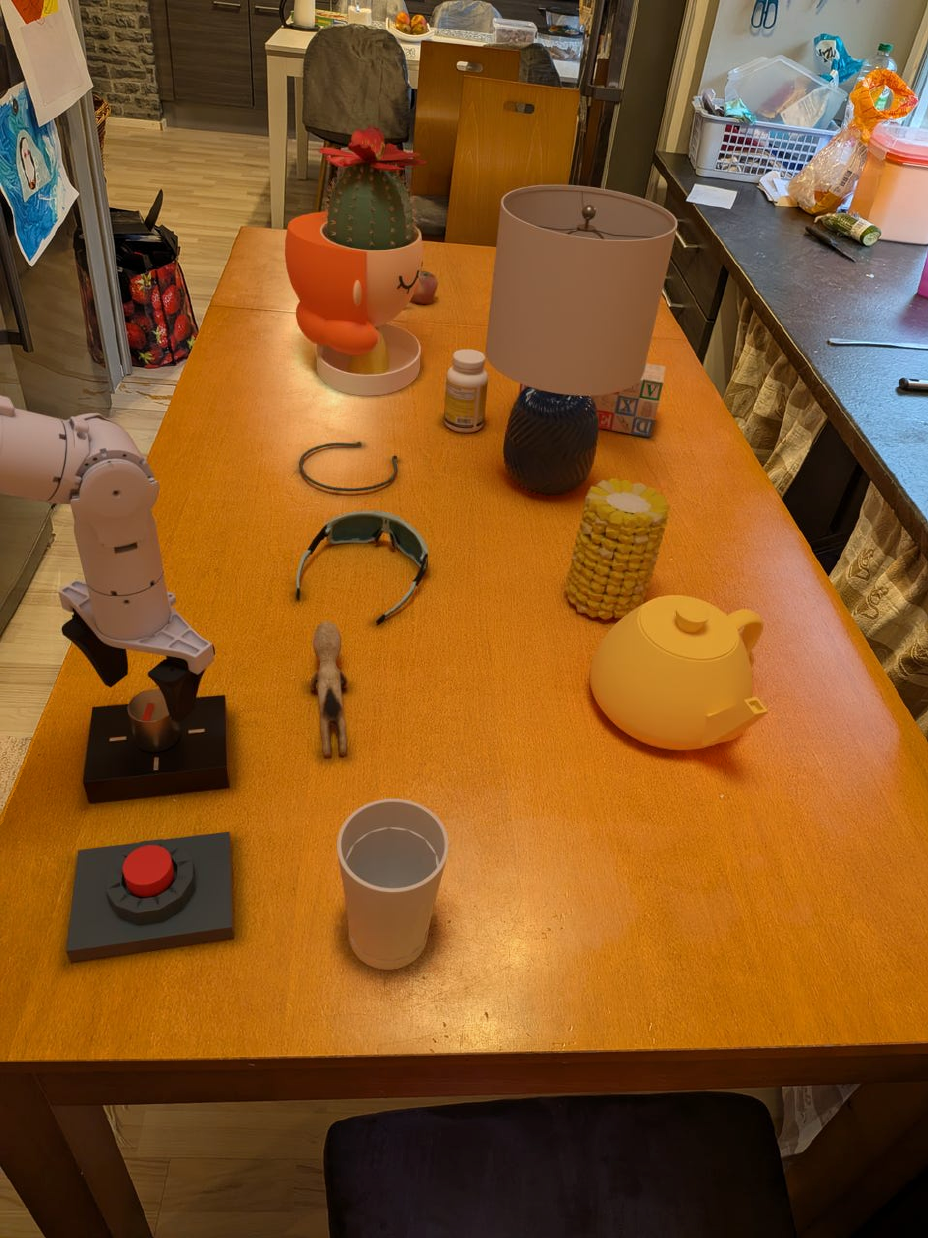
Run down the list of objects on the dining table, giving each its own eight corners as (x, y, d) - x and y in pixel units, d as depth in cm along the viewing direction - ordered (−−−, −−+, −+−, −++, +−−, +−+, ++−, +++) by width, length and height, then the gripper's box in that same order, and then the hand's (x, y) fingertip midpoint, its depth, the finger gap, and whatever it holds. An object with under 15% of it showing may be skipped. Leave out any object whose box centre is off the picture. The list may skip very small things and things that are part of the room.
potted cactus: (427, 345, 157) (440, 123, 135) (408, 403, 140) (419, 160, 118) (307, 330, 158) (299, 106, 135) (273, 386, 141) (258, 141, 118)
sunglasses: (442, 556, 110) (442, 526, 107) (394, 641, 101) (393, 611, 97) (338, 527, 113) (335, 496, 110) (281, 606, 104) (276, 576, 100)
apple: (400, 306, 170) (401, 275, 166) (410, 292, 176) (412, 261, 172) (430, 312, 169) (432, 280, 165) (440, 297, 175) (442, 266, 171)
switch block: (70, 963, 68) (60, 938, 65) (82, 862, 74) (73, 836, 72) (233, 938, 70) (229, 914, 68) (231, 843, 77) (227, 818, 75)
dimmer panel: (89, 804, 79) (82, 781, 77) (97, 728, 85) (91, 705, 83) (229, 788, 81) (226, 765, 79) (227, 716, 88) (224, 693, 86)
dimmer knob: (140, 718, 83) (133, 685, 80) (185, 720, 83) (179, 687, 80) (129, 751, 80) (121, 718, 77) (175, 753, 80) (168, 720, 77)
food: (554, 619, 106) (585, 579, 113) (651, 638, 100) (677, 594, 108) (548, 501, 98) (582, 466, 105) (653, 514, 92) (681, 476, 100)
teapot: (557, 667, 97) (577, 574, 89) (700, 631, 104) (730, 541, 95) (659, 808, 84) (693, 714, 75) (815, 756, 90) (862, 664, 82)
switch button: (124, 900, 68) (120, 888, 67) (127, 861, 71) (124, 848, 70) (173, 894, 69) (170, 881, 68) (174, 855, 72) (172, 842, 71)
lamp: (470, 515, 118) (501, 223, 94) (473, 439, 134) (501, 172, 110) (622, 528, 119) (692, 242, 95) (608, 451, 134) (665, 188, 110)
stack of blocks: (653, 420, 143) (671, 347, 135) (650, 439, 138) (668, 363, 130) (522, 396, 146) (532, 322, 138) (515, 413, 141) (525, 338, 133)
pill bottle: (469, 411, 140) (475, 343, 133) (491, 429, 136) (499, 360, 129) (435, 419, 137) (440, 350, 130) (456, 437, 134) (463, 367, 126)
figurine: (353, 765, 87) (342, 639, 96) (354, 743, 83) (342, 614, 92) (315, 769, 86) (307, 641, 95) (314, 746, 83) (306, 616, 91)
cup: (347, 990, 68) (347, 902, 60) (330, 899, 74) (328, 807, 66) (449, 968, 70) (461, 880, 62) (425, 880, 76) (433, 790, 68)
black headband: (415, 467, 126) (416, 461, 125) (355, 507, 117) (355, 500, 116) (341, 435, 131) (341, 429, 130) (278, 470, 122) (278, 464, 121)
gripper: (233, 579, 70) (245, 701, 78) (93, 518, 74) (120, 640, 83) (169, 629, 65) (190, 753, 74) (24, 560, 69) (60, 685, 78)
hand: (149, 696), depth 78 cm, fingers open, 7 cm apart
